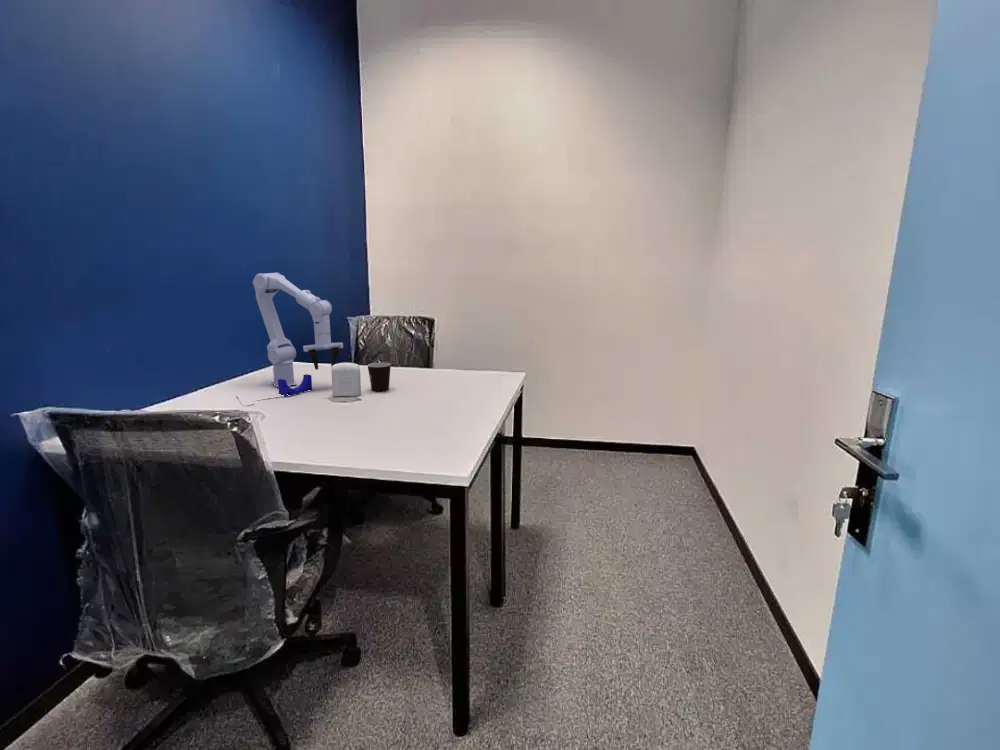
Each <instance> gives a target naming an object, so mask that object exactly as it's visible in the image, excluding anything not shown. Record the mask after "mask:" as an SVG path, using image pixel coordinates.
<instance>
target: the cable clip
mask: <svg viewBox="0 0 1000 750" xmlns="http://www.w3.org/2000/svg"><path fill="white" fill-rule="evenodd" d="M302 377H303V378H302V381H301V383H300V384H299V385H297V386H296V387H294V388H292V387H291V386H288V385H287V383H286V380H284V379H278V388H277V389H278V394H281V395H284V396H288V395H294V394H299V393H300V392H303V393H305V392H304V391H308V390H312V391H313V378H312V374H303V376H302ZM308 392H309V391H308ZM287 394H288V395H287ZM300 394H301V393H300ZM300 394H299V395H300ZM294 396H295V395H294Z"/></svg>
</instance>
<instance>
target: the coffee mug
mask: <svg viewBox="0 0 1000 750" xmlns="http://www.w3.org/2000/svg"><path fill="white" fill-rule="evenodd" d="M391 364H392V363H389V362H373V363H368V364H367V371H368V375H369V376H368V377H369V382H370V388H371V392H372V393H385V392H388V391H389V390H390V382H391V381H390V380H391V379H390V377H391Z"/></svg>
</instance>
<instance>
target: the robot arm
mask: <svg viewBox="0 0 1000 750" xmlns="http://www.w3.org/2000/svg"><path fill="white" fill-rule="evenodd" d="M252 285H253V288H254V291H255V299H256V302H257V304H258V309H259V311H260V314H261V317H262V319H263V323H264V326H265V328H266V332H267V334H268V338H269V341H270V342H269V343H268V344H267V346H266V348H267V358H268V361H270V362H271V364H272V371H273V372H272V374H273V381H272V382H271V384H272V383H274V384H275V386H276V387H278V379H284V380H286V383H287V385H288V386H289V387H292V386H291V385H296V386H298V384H297V383H296V381H295V375H294V360H295V358H296V357H297V351H296V348H295V347H294V345H293V344H292V341H291V340H290V339H288V338H287V337H285V334H284V331H283V328H282V324H281V321H280V319H279V315H278V312H277V310H276V306H275V303H274V301H273V298H274V296H275V294H277V293H278V291H280V290H281V291H283V292H285V293H287V294H288V295H290V296H292V297H294V298H295V300H296V303H297V304H299V305H301V306H302V307H304V308H305V309H306V310H307V311H309V313H310V315H311V317H312V321H313V330H314V342H315V343H314V344H308V345H303V346H302V348H303V352H306V353H308V354H309V356H310V358H311V360H312V362H313V363H312V364H313V365H314V369H315V370H319V362H318V359H319V358H318V357H319V355H318V352H317V351H322V350H329V352H330V360H331V361H330V365H331V368H332V366H333V365H335V364H336V362H337V358H338V355H339V353H340V349H344V343H343V342H332V338H331V323H330V321H331V319H330V314H332V311H333V306H332V304H331V302H330V301H329V300H327V299H323V300H322V299H321V298H320V297H319V296H315V295H314V294H312V293H311V291H310V290H309V289H303V290H301V289H300V288H299V287H297V286H296V285H294V283H292V282H291V281H289V280H288V279H286V277H285V275H283V274H281V273H279V272H277V271H276V272H268V273H261V272H259V273H257V274H255V277H254V278H253V280H252ZM275 386H274V387H275ZM276 387H275V388H276Z"/></svg>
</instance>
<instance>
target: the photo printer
mask: <svg viewBox="0 0 1000 750" xmlns="http://www.w3.org/2000/svg"><path fill="white" fill-rule="evenodd" d="M361 381H362V380H361V368H360V365H359V364H357V363H353V362H339V363H335V365H333V366H332V367H331V384H332V385H331V389H332V396H333V397H357V396H358V397H359V396H360V397H361V396H362V389H361V388H362V387H361Z"/></svg>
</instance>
